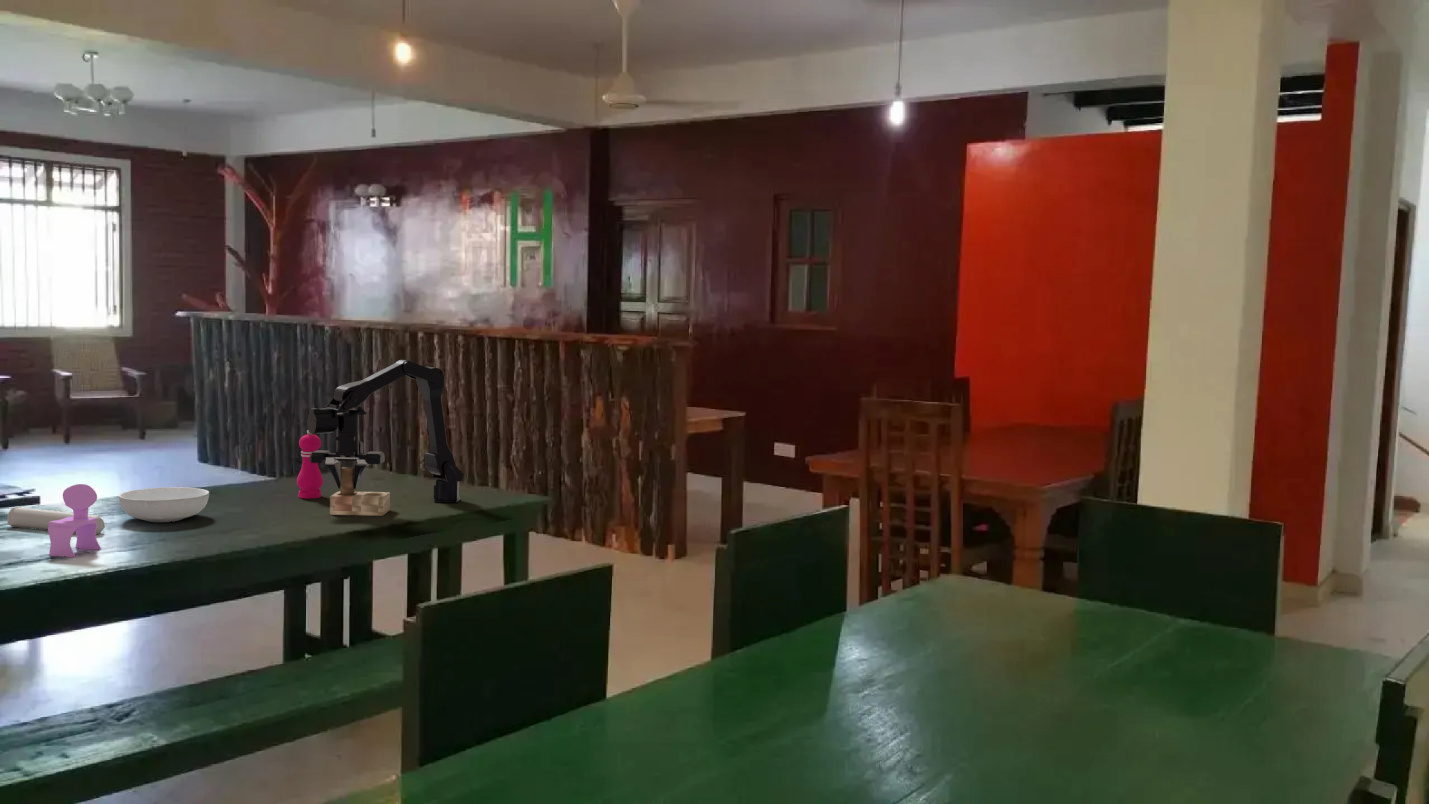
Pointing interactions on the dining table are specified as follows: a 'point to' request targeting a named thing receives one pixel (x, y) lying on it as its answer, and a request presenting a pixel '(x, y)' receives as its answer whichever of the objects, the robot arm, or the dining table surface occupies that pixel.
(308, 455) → the pepper mill
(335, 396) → the robot arm
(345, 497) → the bore block
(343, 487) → the dowel
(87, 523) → the toy chair
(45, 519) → the tube
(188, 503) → the serving bowl
